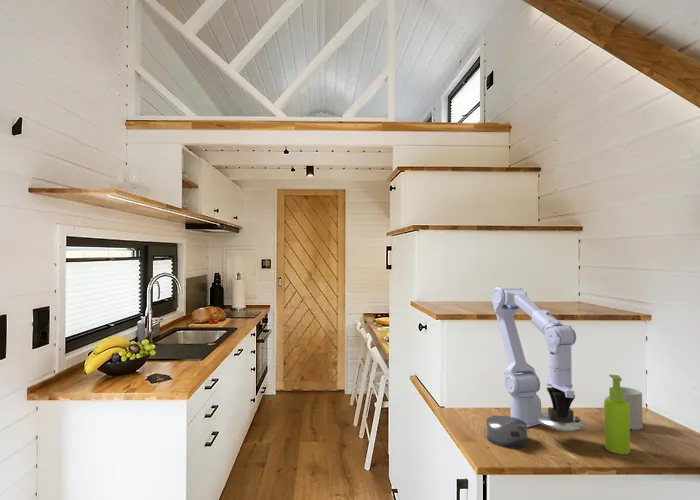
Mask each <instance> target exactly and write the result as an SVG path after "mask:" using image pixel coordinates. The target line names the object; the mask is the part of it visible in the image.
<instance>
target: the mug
mask: <svg viewBox="0 0 700 500" xmlns="http://www.w3.org/2000/svg"><path fill="white" fill-rule="evenodd" d="M620 388H622V389H623V390H624V401H626V402H628V403H629V410H630V429H632V430H631V431H639V430H640V429H641V430H642V429H644V428H643V427H644V425H643V424H644V421H643V392H642V391H641V390H639V389H635V388H630V387H625V386H620ZM605 399H610V395H608V396H607V397H605ZM641 430H640V431H641Z"/></svg>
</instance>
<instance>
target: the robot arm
mask: <svg viewBox="0 0 700 500" xmlns="http://www.w3.org/2000/svg"><path fill="white" fill-rule="evenodd" d="M490 299H491V303H492V307H493V311H494V313H495V315H496V319H497V323H498V326H499V327H498V328H499V331H500V334H501V338H502V342H503V346H504V350H505V354H506V357H507V361H508V366H507V367H506V368H505V369H504V371H503V376H504V388H505V389H506V391H507V393H508V394H509V395H510V417H514V418H517V419H520V420H522V421H524V422H525V423H526V424H527V428H531V427H534V426H538V425H541V424H540V423H539V422H538V415H539V414H542V400H541V398H540V397H539V395H538V394H537V393H538V392H539V391H540V389H541V380H540V378H539V375H537V373H536V369H535V368H534V367H533V366H532V365H530V364H529V363H528V362H527V361H526V357H525V354H524V350H523V349H524V348H523V346H522V343H521V338H520V336H519V335H520V334H519V332H518V329H517V325H516V321H515V318H514V316H515V314H517V313H519V310H522V311H523V312H524V313H526V314H527V315H528V316H529V317H530V318H531V323H532V324H533V326H535V327H536V329H538V330H539V331H540V332H541V334H543V335H544V341H545V343H546V345H547V351H548V354H549V358H548V359H549V361H548V363H549V369H548V371H549V374H548V375H549V376H548V378H547V380H548V381H545V382H544V385H545V386H547V387H546V391H547V392H548V394H549V397H550V400H551V404H552V405H551V406H552V408H557V413H558V417H559V418H567V416H568V412H569V408H570V409H571V405H572V403H573V401H574V400H575V399H576V395H575V390H574V388H573V387H574V386H573V384H572V382H573V381H572V376H573V375H572V374H573V373H572V371H573V370H572V367H573V366H572V346H573V345H575V343H576V342H577V334H576V331H575V329H574V328H573V327H572V326H571V325H569V324H564V323H562V322H561V321H560V320H558V319H557V318H556V317H554V316H553V315H552V314H551V312H550V311H549V310H547V309H540V307H538V306H537V305H536V303H534V302H533V301H532V300H531V298H530V297H529V296H528V292H527V291H526V290H525V289H524V288H523V287H522V286H516V287H515V286H513V287H511V286H510V287H506V286H503V287H500V286H496V287H495V288H493V290H492V293H491V296H490Z"/></svg>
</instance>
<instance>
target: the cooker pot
mask: <svg viewBox="0 0 700 500" xmlns="http://www.w3.org/2000/svg"><path fill="white" fill-rule="evenodd" d="M486 440H487V441H488V442H489V443H491V444H493V445H495V446H498V447H502V448H509V449H520V448H524V447H526V446H527V445H528V427H527V424H526V423H525V422H524V421H522V420H520V419H517V418H514V417H511V416H506V415H492V416H489V417H487V418H486Z"/></svg>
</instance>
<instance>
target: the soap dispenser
mask: <svg viewBox="0 0 700 500" xmlns="http://www.w3.org/2000/svg"><path fill="white" fill-rule="evenodd" d="M608 376H609V378H611V379H612V386H610V387H609V395H608V396H610V399H606V398H605V399H604V402H603V411H604V448H605V450H607V451H608V452H609V453H610V452H611V453H613V454H617V453H618V454H617V455H629V454H630V453H631V430H630V410H629V403H628V402H626V401H624V390H623V389H622V388H620V387H621V382H622V380H623V379H622V378H621V376H620V375H618V374H609V375H608ZM628 453H629V454H628Z"/></svg>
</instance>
